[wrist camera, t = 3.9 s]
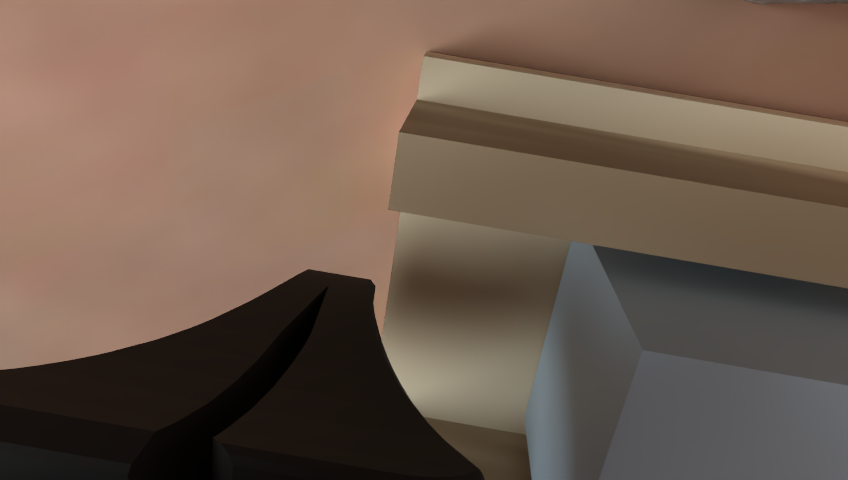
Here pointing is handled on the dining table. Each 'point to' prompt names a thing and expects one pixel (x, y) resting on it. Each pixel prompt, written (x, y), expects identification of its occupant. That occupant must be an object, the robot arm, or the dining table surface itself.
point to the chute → (577, 220)
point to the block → (688, 374)
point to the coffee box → (797, 1)
